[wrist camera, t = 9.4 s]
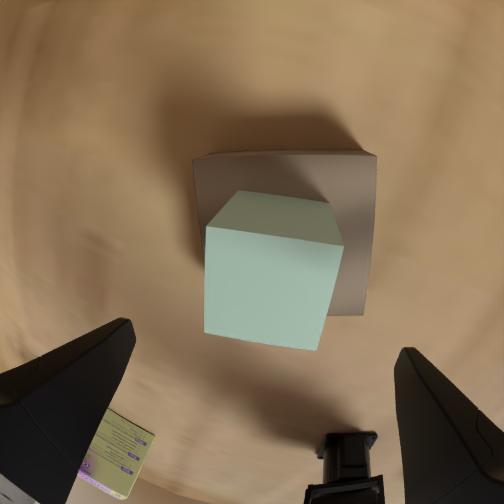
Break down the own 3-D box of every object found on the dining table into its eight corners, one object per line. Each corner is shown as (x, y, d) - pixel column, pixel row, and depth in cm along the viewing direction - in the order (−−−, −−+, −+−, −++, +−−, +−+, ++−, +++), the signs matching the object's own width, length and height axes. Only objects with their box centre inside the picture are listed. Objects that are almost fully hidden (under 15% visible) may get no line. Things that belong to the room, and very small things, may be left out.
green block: (314, 283, 18) (316, 350, 12) (232, 270, 18) (204, 332, 13) (329, 203, 16) (343, 246, 10) (238, 190, 16) (206, 226, 11)
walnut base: (355, 284, 22) (363, 315, 18) (225, 283, 24) (212, 312, 20) (362, 149, 18) (376, 156, 14) (212, 152, 20) (192, 160, 16)
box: (91, 411, 38) (58, 464, 27) (95, 398, 35) (58, 457, 25) (147, 445, 39) (121, 501, 28) (156, 435, 36) (128, 498, 26)
